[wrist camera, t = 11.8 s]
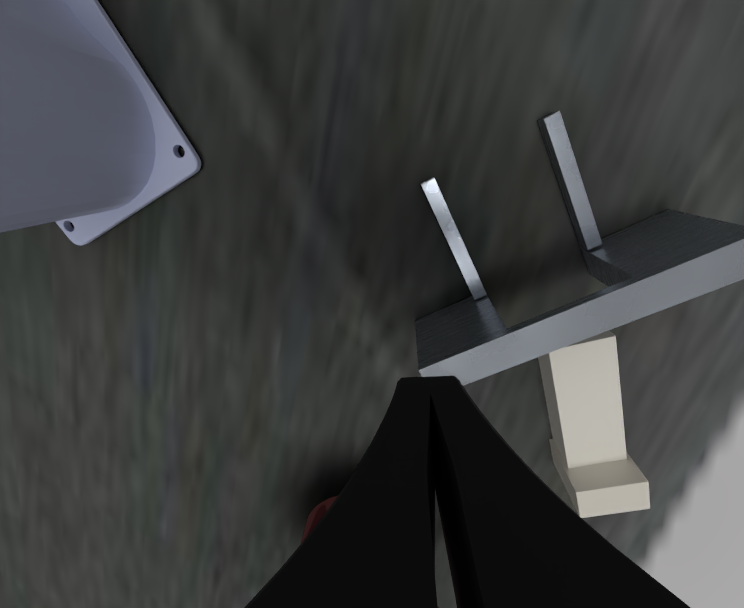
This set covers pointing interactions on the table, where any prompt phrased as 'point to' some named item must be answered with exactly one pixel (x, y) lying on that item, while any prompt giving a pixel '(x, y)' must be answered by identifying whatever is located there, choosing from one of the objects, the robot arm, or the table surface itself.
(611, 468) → the cream l-shaped block
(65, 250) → the table surface
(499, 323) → the housing
